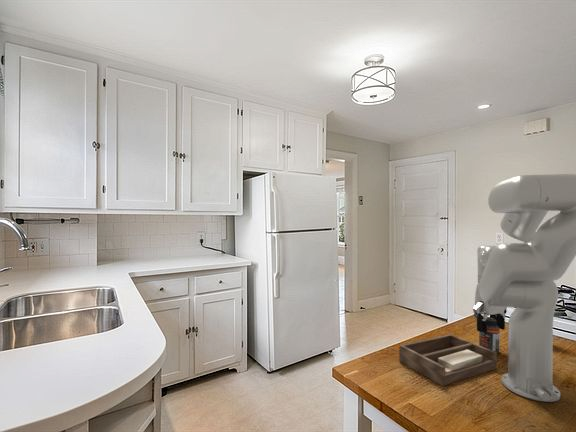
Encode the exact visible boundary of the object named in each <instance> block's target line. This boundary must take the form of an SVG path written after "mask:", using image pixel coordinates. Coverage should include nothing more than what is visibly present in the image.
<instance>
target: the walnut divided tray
mask: <svg viewBox="0 0 576 432" xmlns="http://www.w3.org/2000/svg"><path fill="white" fill-rule="evenodd" d="M467 349H468V350H470V351H473V352H475V353H477V354H480V355H482V362H481V363H478V364H475V365H471V366H468V367H464V368H461V369H458V370H454V371H451V372H448V373H445V367H444V366H442V365H440V364H438V358H440V357H443V356H446V355H450V354H453V353H457V352H460V351H463V350H467ZM497 355H498V353H497V352H495V351H492V350H489V349H487V348H484V347H482V346H479V344H477V343H474V342H472V341H469V340H466V339H464V338H462V337H459V336H456V335H454V334H452V333H449V334H444V335H440V336H435V337H430V338H427V339H426V338H425V339H421V340H417V341H412V342H408V343H403V344H399V354H398V356H399V357H398V358H399V360H398V361H399V362H401V363H403V364H404V365H406V366H407V367H409V368H411V369H413V370H415V371H416V372H418V373H420V374H421V375H423V376H425V377H427V378H429V379H430V380H432V381H434V382H435V383H437V384H438V385H441V386H445V385H449V384H452V383H455V382H459V381H461V380H465V379H468V378H472V377H474V376H478V375H481V374H483V373H487V372H490V371H493V370H497Z"/></svg>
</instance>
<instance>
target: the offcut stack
mask: <svg viewBox="0 0 576 432" xmlns="http://www.w3.org/2000/svg"><path fill="white" fill-rule="evenodd" d="M481 362H482V355H480V354H477V353H475V352H473V351H470V350H468V349H467V350H463V351H460V352H457V353H453V354H450V355H446V356H443V357H440V358H438V364H440V365H442V366H444V367H445V373H448V372H451V371H454V370H458V369H461V368H464V367H468V366H471V365H475V364H478V363H481Z"/></svg>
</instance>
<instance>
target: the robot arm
mask: <svg viewBox="0 0 576 432" xmlns="http://www.w3.org/2000/svg"><path fill="white" fill-rule="evenodd" d="M487 199H488V200H487V201H488V203H487V204H488V207H489V209H490V210H491V211H492V212H493V213H495V214H504V215H503V217H502V219H501V221H500V228H501V230H502V231H503V232H504V233H505V234H506V235H507V236H508V237H511V238H513V239H515V240H517V241H520V243H518V242H506V243H505V242H504V243H501V244H498V245H480V246H478V247H477V284H476V287H475V297H474V306H473V307H472V310H473V313H474V314H473V315H474V317H475V320H476V331H477V332H478V333H479V332H483V333H487V321H486V319H487V317H489V316H493V315H494V319H496V323H497V324H496V325H497V326H498V327H499V329H500V330H503V331H505V330H506V315H507V311H508V310H507V309H508V308H514V310H513V311H512V313H511V314H510V316H509V318H508V325H507V326H508V327H507V335H508V336H507V338H508V339H507V349H508V350H507V373H504V374H502V375H501V377H500V378H501V383H502V384H503V386H504V387H506V388H507V389H508V390H510V391H511V392H513V393H514V394H517V395H519V396H520V397H524V398H526V399H530V400H533V401H538V402H545V403H549V402H550V403H553V402H558V401H560V399H561V391H560V390H559V388H557V387H556V386H555V385H554V381H553V377H554V376H553V374H554V373H553V364H554V363H553V359H554V357H553V356H554V354H553V352H554V349H553V347H554V345H553V343H554V341H553V339H554V338H553V336H554V315H555V312H556V311H555V310H556V306H557V302H558V298H559V289H558V286H557V284H556V283H555V281H558V280H560V279H561V278H562V277H563V276H564V274H566V272H567V270H568V268H569V267H570V265H571V264H572V262H573V261H574V259H575V258H576V173H566V174H565V173H559V174H558V173H557V174H552V173H551V174H524V175H523V174H522V175H517V176H514V177H511V178H508V179H506V180H503V181H500V182H498V183H497V184H495V185H494V186H493V187H492V189H491V190H490V192H489V195H488V198H487ZM549 211H551V212H555V211H556V212H557V211H559V213H557V214H556V215H554V216H552V217H551V218H549V219H547V220H546V221H544V223H542V222H543V220H544V218H545V217H546V215H547V213H548V212H549ZM541 223H542V224H541ZM521 242H523V243H521Z"/></svg>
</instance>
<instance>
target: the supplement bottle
mask: <svg viewBox="0 0 576 432" xmlns="http://www.w3.org/2000/svg"><path fill="white" fill-rule="evenodd" d="M486 321H487V333H483V332H479V331H478V334H479V336H478V345H479V346H482V347H484V348H487V349H489V350H492V351H495V352H497V354H499V352H500V330H501V329H499V327H498V326H497V325H496V324H497V323H496V319H495V318H493V317H489V316H487V319H486Z"/></svg>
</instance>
